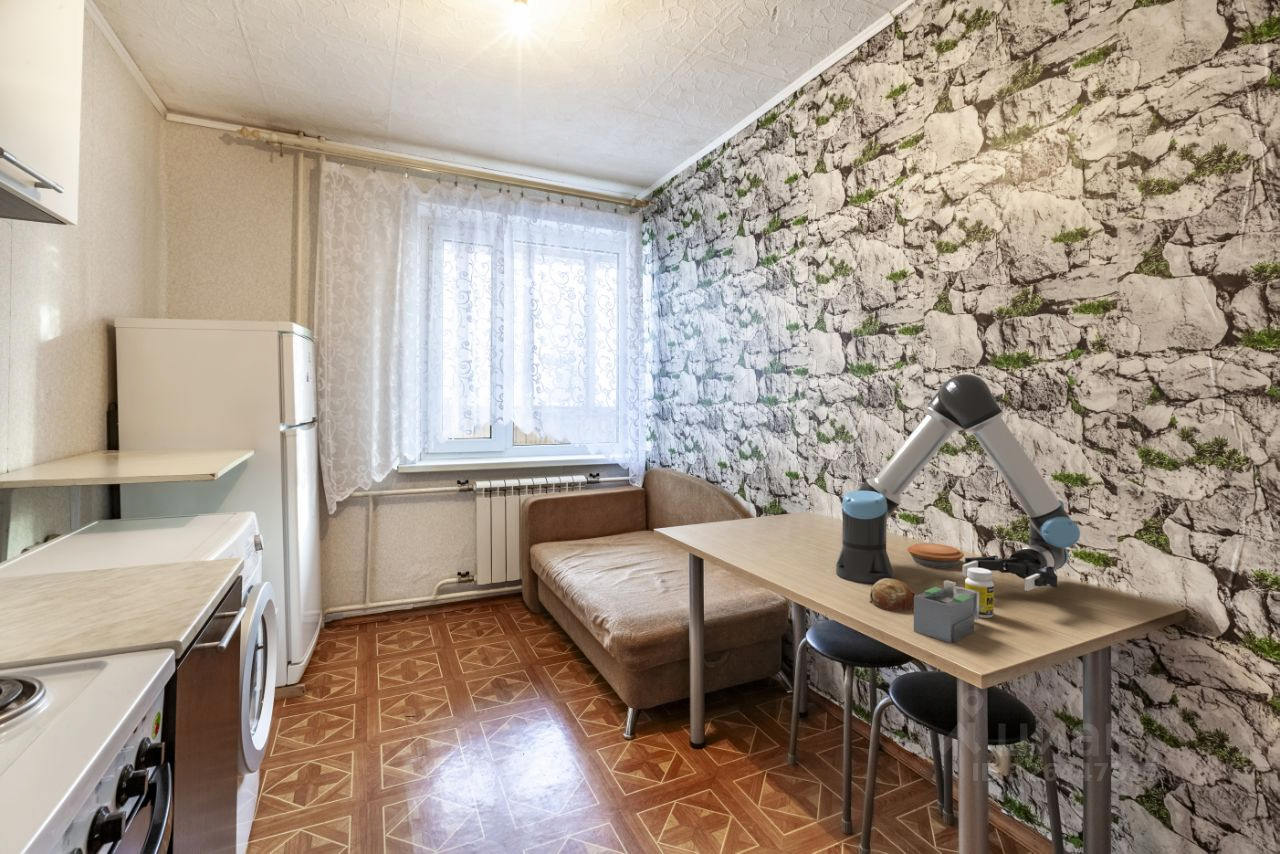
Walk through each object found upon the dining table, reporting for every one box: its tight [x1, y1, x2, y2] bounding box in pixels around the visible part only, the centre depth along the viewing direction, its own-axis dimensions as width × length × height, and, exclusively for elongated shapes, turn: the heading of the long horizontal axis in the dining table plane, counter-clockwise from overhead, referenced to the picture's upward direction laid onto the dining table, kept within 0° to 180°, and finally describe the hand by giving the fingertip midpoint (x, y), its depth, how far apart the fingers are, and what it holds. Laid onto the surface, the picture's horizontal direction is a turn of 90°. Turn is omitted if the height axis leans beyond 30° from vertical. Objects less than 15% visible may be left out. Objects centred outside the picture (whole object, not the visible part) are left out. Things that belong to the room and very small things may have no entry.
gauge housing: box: [913, 586, 975, 644], centre depth 118 cm, size 10×8×8 cm
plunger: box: [939, 579, 980, 621], centre depth 121 cm, size 10×5×9 cm, turn 126°
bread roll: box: [868, 578, 916, 611], centre depth 135 cm, size 10×10×8 cm
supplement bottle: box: [964, 568, 995, 619], centre depth 128 cm, size 6×6×10 cm
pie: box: [906, 542, 965, 568], centre depth 170 cm, size 16×16×5 cm
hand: (993, 577), depth 132 cm, fingers open, 13 cm apart
